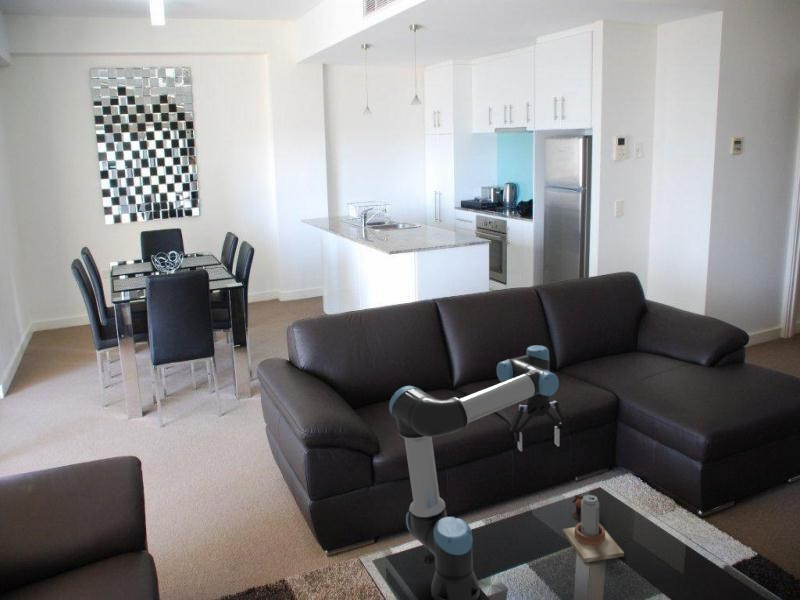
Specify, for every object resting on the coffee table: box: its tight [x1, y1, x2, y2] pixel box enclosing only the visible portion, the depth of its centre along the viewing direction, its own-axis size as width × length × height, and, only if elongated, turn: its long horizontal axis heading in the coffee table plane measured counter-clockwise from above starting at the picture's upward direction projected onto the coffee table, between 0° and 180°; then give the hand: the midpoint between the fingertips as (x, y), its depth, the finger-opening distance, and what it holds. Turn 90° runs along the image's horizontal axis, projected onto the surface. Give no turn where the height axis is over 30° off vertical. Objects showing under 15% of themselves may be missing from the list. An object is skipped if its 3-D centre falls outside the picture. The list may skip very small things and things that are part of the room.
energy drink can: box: [580, 494, 600, 536], centre depth 237 cm, size 6×6×15 cm
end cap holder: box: [562, 521, 625, 563], centre depth 236 cm, size 14×18×4 cm
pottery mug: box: [571, 494, 584, 520], centre depth 254 cm, size 12×10×8 cm
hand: (538, 447), depth 241 cm, fingers open, 13 cm apart
